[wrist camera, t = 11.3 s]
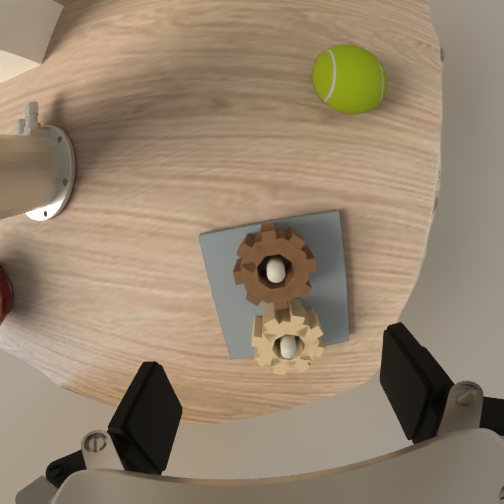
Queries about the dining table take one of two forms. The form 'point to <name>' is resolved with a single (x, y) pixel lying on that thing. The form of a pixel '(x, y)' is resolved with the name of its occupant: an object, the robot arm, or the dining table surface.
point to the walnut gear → (256, 277)
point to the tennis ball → (349, 79)
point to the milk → (25, 34)
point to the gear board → (299, 310)
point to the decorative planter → (5, 296)
